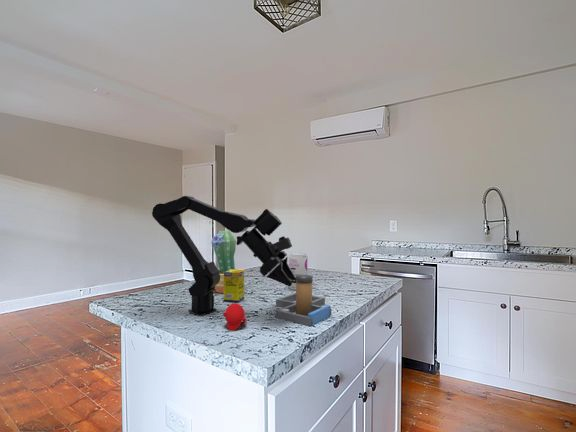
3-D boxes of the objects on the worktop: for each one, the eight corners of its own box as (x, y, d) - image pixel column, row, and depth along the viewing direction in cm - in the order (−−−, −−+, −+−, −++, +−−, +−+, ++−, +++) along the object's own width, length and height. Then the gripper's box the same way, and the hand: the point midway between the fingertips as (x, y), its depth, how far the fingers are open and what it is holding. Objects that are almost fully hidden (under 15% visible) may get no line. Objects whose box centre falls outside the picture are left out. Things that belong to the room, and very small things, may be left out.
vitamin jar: (301, 320, 94) (302, 278, 94) (292, 315, 99) (292, 275, 99) (315, 317, 97) (315, 276, 97) (305, 313, 101) (306, 274, 101)
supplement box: (238, 302, 113) (239, 272, 113) (223, 301, 114) (223, 271, 114) (244, 298, 119) (244, 269, 118) (229, 297, 120) (229, 269, 120)
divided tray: (310, 326, 89) (310, 315, 89) (256, 312, 101) (256, 302, 101) (345, 307, 107) (345, 298, 107) (296, 298, 119) (296, 289, 119)
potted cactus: (204, 287, 135) (204, 230, 135) (238, 284, 142) (239, 229, 142) (211, 296, 121) (211, 231, 121) (249, 292, 128) (249, 231, 128)
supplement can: (307, 286, 139) (307, 252, 139) (306, 291, 131) (307, 255, 131) (289, 286, 140) (289, 252, 140) (287, 290, 132) (287, 254, 132)
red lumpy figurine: (224, 310, 93) (218, 304, 88) (243, 303, 94) (238, 297, 89) (230, 336, 89) (224, 332, 84) (250, 329, 90) (245, 324, 85)
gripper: (271, 229, 90) (309, 269, 88) (281, 227, 108) (312, 260, 107) (244, 256, 91) (281, 296, 89) (258, 249, 109) (289, 282, 108)
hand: (292, 282), depth 98 cm, fingers open, 9 cm apart
